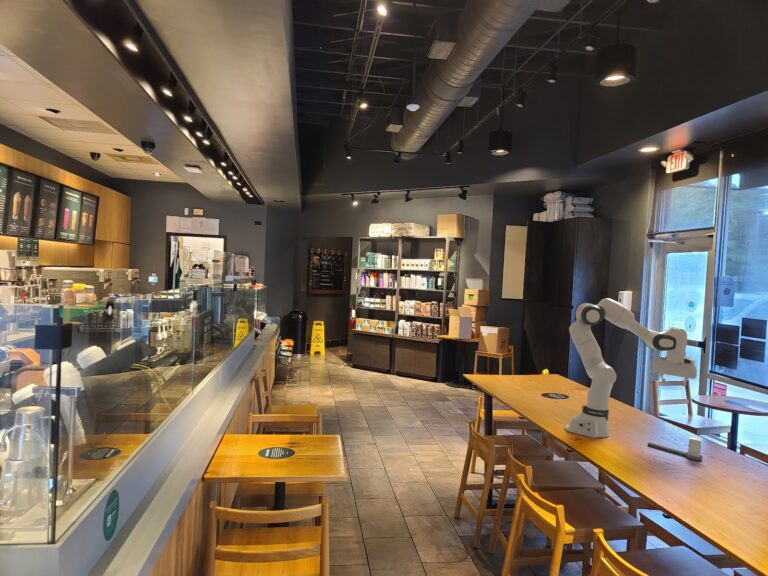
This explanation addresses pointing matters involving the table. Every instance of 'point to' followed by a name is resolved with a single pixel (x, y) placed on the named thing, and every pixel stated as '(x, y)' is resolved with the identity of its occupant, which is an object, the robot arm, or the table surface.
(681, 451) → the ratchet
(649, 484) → the table surface
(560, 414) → the table surface
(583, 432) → the robot arm
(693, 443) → the tan wooden block
